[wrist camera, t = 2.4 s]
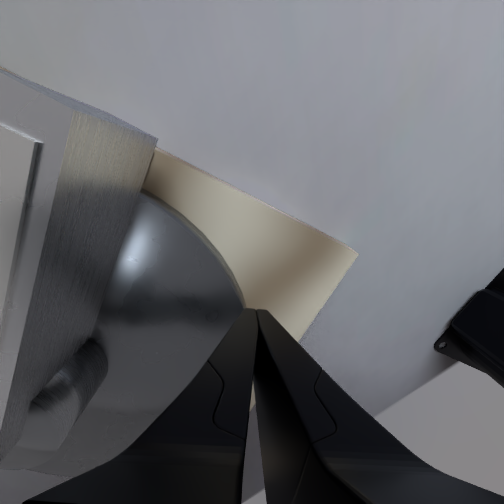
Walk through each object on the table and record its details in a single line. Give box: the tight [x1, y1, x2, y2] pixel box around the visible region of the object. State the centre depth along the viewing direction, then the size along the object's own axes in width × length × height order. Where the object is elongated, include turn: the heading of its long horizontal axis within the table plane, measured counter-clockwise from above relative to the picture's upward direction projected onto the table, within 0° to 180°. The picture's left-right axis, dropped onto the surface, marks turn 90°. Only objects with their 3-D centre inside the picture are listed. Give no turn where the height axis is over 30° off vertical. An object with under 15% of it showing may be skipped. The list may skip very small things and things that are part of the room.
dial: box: [0, 69, 247, 477], centre depth 9 cm, size 19×17×5 cm
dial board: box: [0, 67, 359, 411], centre depth 12 cm, size 20×20×2 cm
